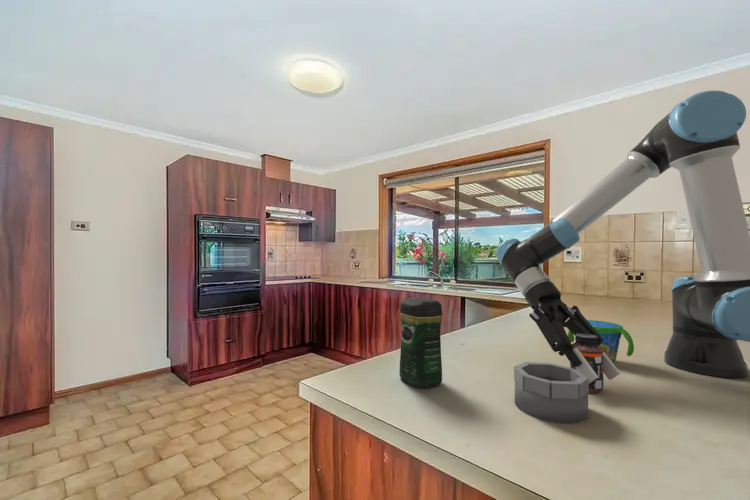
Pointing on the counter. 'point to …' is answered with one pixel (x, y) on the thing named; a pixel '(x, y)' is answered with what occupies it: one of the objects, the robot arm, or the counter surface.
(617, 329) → the snack cup
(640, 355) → the counter surface
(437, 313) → the coffee jar
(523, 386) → the octagonal grey sleeve
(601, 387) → the supplement bottle
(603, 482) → the counter surface
